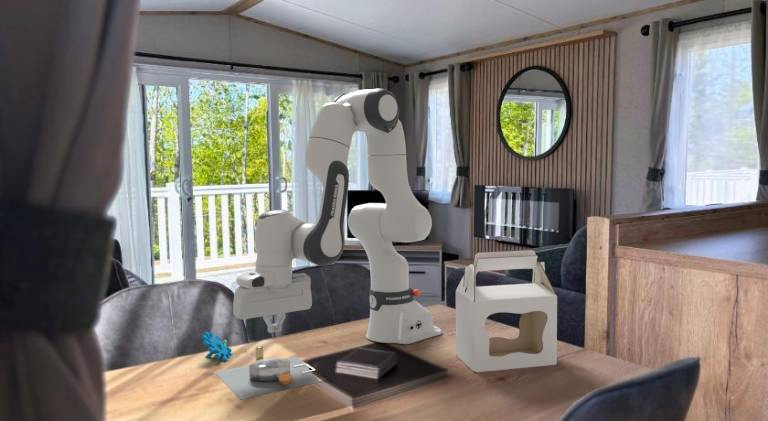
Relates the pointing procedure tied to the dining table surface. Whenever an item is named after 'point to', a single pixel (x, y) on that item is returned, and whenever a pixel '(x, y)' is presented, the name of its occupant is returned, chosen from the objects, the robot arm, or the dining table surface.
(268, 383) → the grey square plate
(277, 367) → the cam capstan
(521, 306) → the gable box
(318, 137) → the robot arm
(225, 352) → the gear
